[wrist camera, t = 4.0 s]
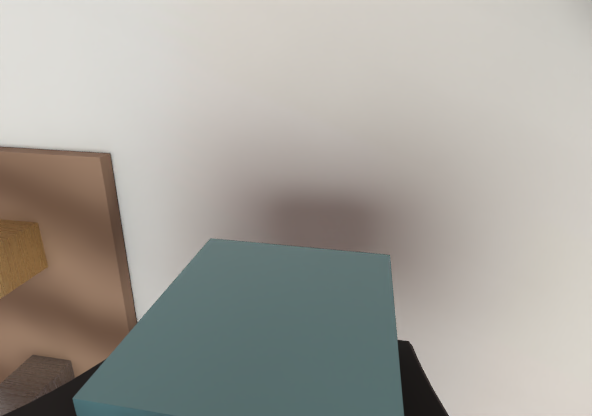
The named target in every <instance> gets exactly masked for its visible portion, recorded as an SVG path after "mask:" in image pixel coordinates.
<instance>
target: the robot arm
mask: <svg viewBox="0 0 592 416" xmlns="http://www.w3.org/2000/svg"><path fill="white" fill-rule="evenodd" d="M397 342H398V353H399V364H400V376H401V387H402V399H403V410H404V416H449V415H448V414H447V412H446V410H445V408H444V407H443V405H442V403H441V402H440V400H439V398H438V397H437V395H436V393H435V391H434V390H433V388H432V386H431V384H430V382H429V380H428V378H427V376H426V374H425V373H424V371H423V369H422V367H421V364H420V362H419V360H418V358H417V356H416V354H415V351H414V349H413V346H412V345H411V344H410V342H409V341H402V340H397ZM105 360H106V359H105ZM105 360H103V361H102V362H100V363H99V364H97V365H95V366H94V367H92V368H91V369H89V370H87V371H86V372H84V373H82V374H81V375H79V376H78V377H76V378H74V379H73V380H71V381H69V382H67V383H66V384H64V385H62V386H60V387H58V388H57V389H55V390H53V391H51V392H49V393H47V394H45V395H43V396H41V397H39V398H38V399H36V400H34V401H32V402H30V403H28V404H26V405H24V406H22V407H20V408H17V409H15V410H13V411H11V412H9V413H7V414H4V415H2V416H77V415H76V411H75V407H74V403H73V399H72V398H73V397H74V396H75V395H76V394H77V392H78V391H79V390H80V389H81V388H82V387H83V385H84V384H85V383H86V382H87V381H88V380H89V379H90V377H91V376H92V375H93V374H94V373H95V372H96V370H97V369H98V368H99V367H100V366H101V365H102V363H103V362H104V361H105Z"/></svg>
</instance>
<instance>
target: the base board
mask: <svg viewBox="0 0 592 416" xmlns="http://www.w3.org/2000/svg"><path fill="white" fill-rule="evenodd" d="M0 219H3V220H14V221H25V222H36V223H38V226H39V230H40V234H41V238H42V242H43V247H44V251H45V255H46V259H47V263H48V267H47V268H46V269H44V270H43V271H41V272H40V273H38V274H37V275H35V276H34V277H32V278H31V279H29V280H28V281H26V282H25V283H23V284H22V285H20V286H19V287H17V288H16V289H14V290H13V291H11V292H10V293H8V294H7V295H5V296H4V297H2V298H1V299H0V383H1V382H3V381H4V380H5V379H6V378H7V377H8V376H9V375H10V374H11V373H13V372H14V371H15V370H16V369H17V368H18V367H19V366H20V365H21V364H23V363H24V362H25V361H26V360H27V359H28V358H29V357H30V356H32V355H39V356H45V357H52V358H59V359H65V360H71V363H72V367H73V371H74V376H75V378H76V377H78V376H79V375H81V374H82V373H84V372H86V371H87V370H89V369H91V368H92V367H94V366H95V365H97V364H99V363H100V362H102V361H103V360H105V359H107V358H108V357H109V355H110V354H111V353H112V352H113V351H114V350H115V348H116V347H117V346H118V345H119V344H120V343H121V341H122V340H123V339H124V338H125V337H126V336H127V335H128V333H129V332H130V331H131V330H132V329H133V328H134V326H135V325H136V324H137V322H136V315H135V309H134V303H133V296H132V290H131V284H130V277H129V271H128V265H127V258H126V252H125V246H124V239H123V233H122V227H121V220H120V214H119V208H118V201H117V195H116V189H115V182H114V176H113V170H112V163H111V157H110V154H109V153H92V152H76V151H59V150H43V149H26V148H10V147H0Z"/></svg>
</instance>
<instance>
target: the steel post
mask: <svg viewBox="0 0 592 416" xmlns="http://www.w3.org/2000/svg"><path fill="white" fill-rule="evenodd" d="M74 378H75V376H74V371H73V367H72V363H71V360H65V359H59V358H52V357H45V356H39V355H32V356H30V357H29V358H28V359H27V360H26V361H25V362H24V363H23V364H21V365H20V366H19V367H18V368H17V369H16V370H15V371H14V372H13V373H11V374H10V375H9V376H8V377H7V378H6V379H5V380H4V381H3V382H1V383H0V416H2V415H4V414H7V413H9V412H11V411H13V410H15V409H17V408H20V407H22V406H24V405H26V404H28V403H30V402H32V401H34V400H36V399H38V398H39V397H41V396H43V395H45V394H47V393H49V392H51V391H53V390H55V389H57V388H58V387H60V386H62V385H64V384H66V383H67V382H69V381H71V380H73V379H74Z"/></svg>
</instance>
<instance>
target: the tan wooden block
mask: <svg viewBox="0 0 592 416" xmlns="http://www.w3.org/2000/svg"><path fill="white" fill-rule="evenodd" d="M47 267H48V263H47V259H46V255H45V251H44V247H43V242H42V238H41V234H40V230H39V226H38V223H36V222H25V221H14V220H3V219H0V299H1V298H2V297H4V296H5V295H7V294H8V293H10V292H11V291H13V290H14V289H16V288H17V287H19V286H20V285H22V284H23V283H25V282H26V281H28V280H29V279H31V278H32V277H34V276H35V275H37V274H38V273H40V272H41V271H43V270H44V269H46V268H47Z"/></svg>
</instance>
